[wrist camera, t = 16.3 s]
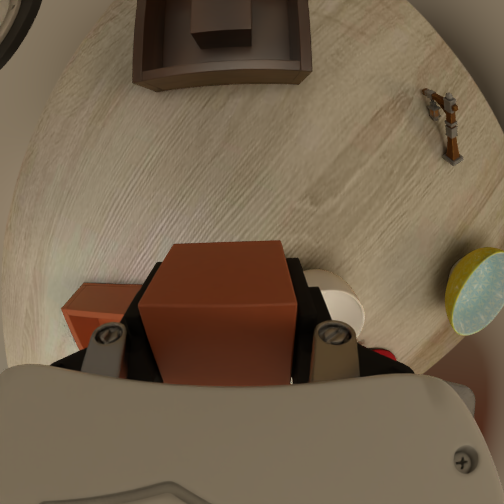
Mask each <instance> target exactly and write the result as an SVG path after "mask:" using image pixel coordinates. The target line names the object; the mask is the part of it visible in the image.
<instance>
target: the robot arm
mask: <svg viewBox="0 0 504 504" xmlns="http://www.w3.org/2000/svg"><path fill="white" fill-rule="evenodd" d="M20 5H21V0H0V44H1V42H2V41H3V40H4V38H5V36H6V35H7V33H8V32H9V30H10V28H11V26H12V25H13V22H14V20H15V18H16V16H17V14H18V11H19V8H20ZM286 262H287V266H288V269H289V273H290V277H291V281H292V285H293V289H294V292H295V296H296V300H297V316H296V328H295V340H294V351H293V362H292V372H291V377H292V380H293V384H289V385H270V386H200V385H181V384H168V383H163V382H164V381H163V379H162V376H161V374H160V371H159V368H158V366H157V363H156V360H155V358H154V355H153V352H152V349H151V346H150V343H149V340H148V337H147V334H146V331H145V328H144V325H143V322H142V318H141V315H140V312H139V308H138V303H139V301H140V300H141V298H142V296H143V294H144V293H145V291H146V289H147V287H148V286H149V284H150V282H151V281H152V279H153V277H154V275H155V274H156V272H157V270H158V269H159V267H160V265H161V264H162V262H157V263H156V264H155V266H154V268H153V269H152V271H151V272H150V274H149V276H148V277H147V279H146V280H145V282H144V284H143V285H142V287H141V289H140V290H139V291H138V292H137V294H136V295H135V297H134V299H133V300H132V302H131V304H130V305H129V307H128V309H127V311H126V312H125V314H124V316H123V317H122V319H121V321H120V323H119V322H109V323H105V324H102V325H100V326H99V327H97V328H96V329H95V330H94V331H93V333H92V335H91V338H90V341H89V344H88V347H87V348H84V349H82V350H80V351H78V352H76V353H74V354H71V355H69V356H67V357H65V358H63V359H61V360H58V361H56V362H54V363H52V364H51V365H50V366H49V365H41V364H24V365H17V366H13V367H10V368H8V369H6V370H5V371H3V372H2V373H1V374H0V504H504V492H503V488H502V484H501V481H500V478H499V475H498V473H497V470H496V467H495V464H494V462H493V459H492V457H491V454H490V452H489V449H488V447H487V445H486V442H485V440H484V438H483V435H482V434H481V431H480V430H479V428H478V426H477V424H476V422H475V420H474V409H475V396H474V394H473V392H472V390H470V389H469V388H468V387H466V386H464V385H460V384H456V383H452V382H448V381H444V380H441V379H439V378H436V377H432V376H428V375H420V374H415V373H414V372H413V370H412V369H411V368H410V367H408V366H406V365H405V364H403V363H400V362H398V361H396V360H393V359H391V358H389V357H386V356H384V355H382V354H380V353H377V352H375V351H373V350H371V349H368V348H366V347H364V346H362V345H359V344H357V339H356V333H355V330H354V329H353V328H352V327H351V326H350V325H348V324H347V323H344V322H342V321H336V320H332V318H331V316H330V313H329V311H328V308H327V306H326V303H325V301H324V298H323V296H322V293H321V291H320V288H319V287H318V286H317V287H308V284H307V281H306V278H305V275H304V272H303V270H302V267H301V264H300V261H299V259H298V258H286Z"/></svg>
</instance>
